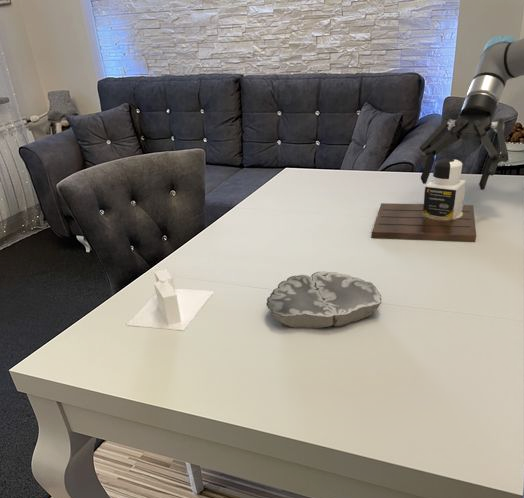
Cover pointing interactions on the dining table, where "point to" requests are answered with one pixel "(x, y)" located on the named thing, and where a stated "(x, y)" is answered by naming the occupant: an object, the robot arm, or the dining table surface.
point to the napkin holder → (170, 305)
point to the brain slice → (323, 300)
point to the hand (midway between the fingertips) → (451, 183)
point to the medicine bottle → (445, 190)
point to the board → (423, 224)
